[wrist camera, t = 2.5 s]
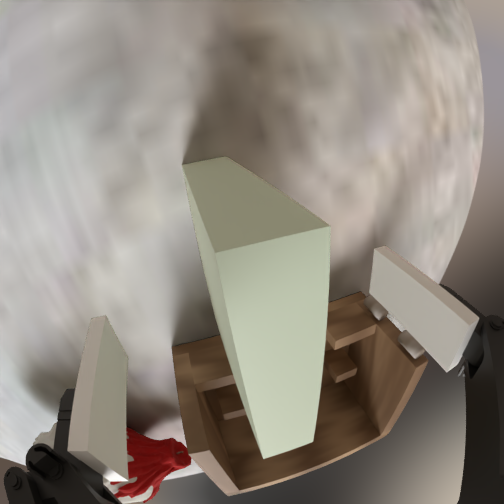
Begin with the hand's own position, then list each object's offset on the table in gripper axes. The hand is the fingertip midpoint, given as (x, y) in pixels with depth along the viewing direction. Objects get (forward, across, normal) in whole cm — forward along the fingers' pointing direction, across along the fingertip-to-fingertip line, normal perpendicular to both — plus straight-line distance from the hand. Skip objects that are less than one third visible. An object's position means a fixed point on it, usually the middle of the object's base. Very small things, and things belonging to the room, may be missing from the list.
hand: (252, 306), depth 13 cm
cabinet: (+6, +3, -13) cm, 14 cm away
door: (+6, 0, 0) cm, 6 cm away
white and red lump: (+6, -15, -18) cm, 24 cm away
